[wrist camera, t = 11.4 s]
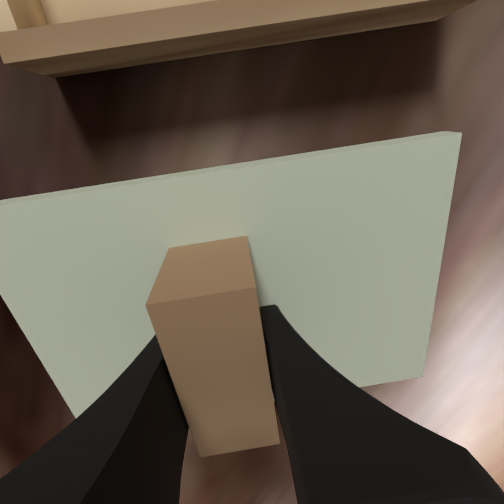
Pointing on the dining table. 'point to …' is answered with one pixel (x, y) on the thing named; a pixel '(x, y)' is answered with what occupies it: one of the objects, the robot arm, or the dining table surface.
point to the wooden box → (183, 28)
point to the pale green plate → (235, 275)
